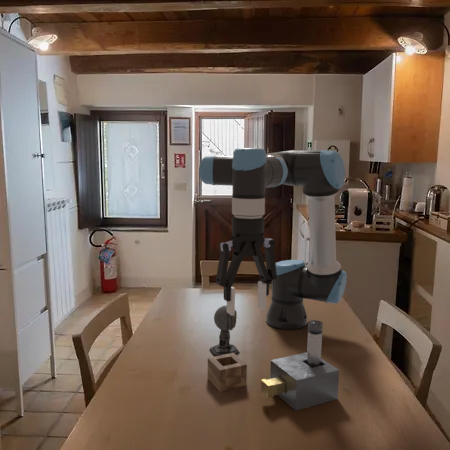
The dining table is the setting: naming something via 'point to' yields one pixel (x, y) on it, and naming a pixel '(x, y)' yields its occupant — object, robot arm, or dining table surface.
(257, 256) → the robot arm
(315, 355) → the steel round rod
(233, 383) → the open box
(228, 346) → the figurine
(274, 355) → the dining table surface
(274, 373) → the socket
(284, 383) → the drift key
